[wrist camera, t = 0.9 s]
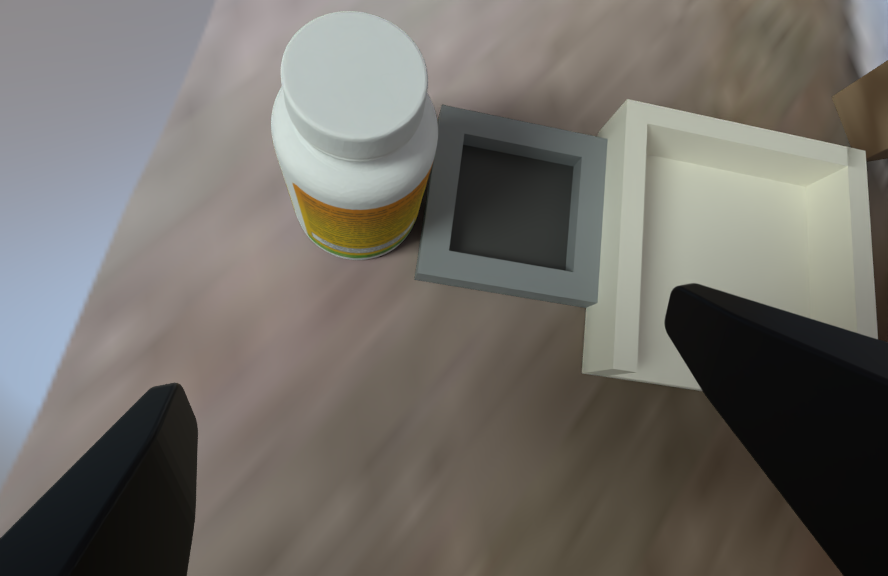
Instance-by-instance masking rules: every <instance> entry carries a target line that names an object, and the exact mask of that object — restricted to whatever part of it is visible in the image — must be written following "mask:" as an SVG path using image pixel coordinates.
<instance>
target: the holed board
mask: <svg viewBox="0 0 888 576" xmlns="http://www.w3.org/2000/svg"><path fill="white" fill-rule="evenodd" d="M607 142H608V139H605V138H601V137H596V136H591V135H586V134H581V133H576V132H571V131H567V130H562V129H557V128H552V127H547V126H542V125H538V124H533V123H528V122H523V121H518V120H513V119H509V118H504V117H499V116H494V115H489V114H484V113H480V112H475V111H470V110H465V109H460V108H455V107H451V106H446V105H442V107H441V110H440V114H439V118H438V141H437V147H436V153H435V157H434V161H433V164H432V168H431V171H430V178H429V184H428V191H427V198H426V205H425V211H424V218H423V225H422V232H421V238H420V245H419V252H418V259H417V265H416V272H415V279H414V280H420V281H426V282H432V283H438V284H444V285H450V286H457V287H463V288H469V289H475V290H481V291H487V292H493V293H499V294H505V295H511V296H517V297H523V298H529V299H536V300H542V301H548V302H554V303H560V304H566V305H572V306H578V307H584V308H587V307H589V306H592V305H594V304H596V303H598V288H599V271H600V255H601V239H602V223H603V207H604V190H605V174H606V158H607Z"/></svg>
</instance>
